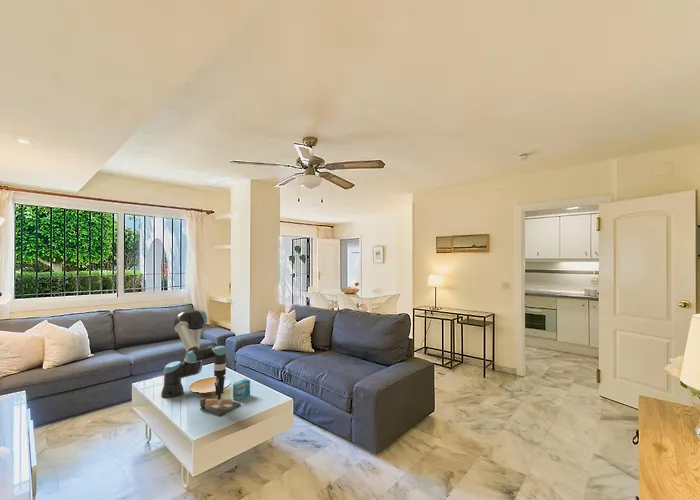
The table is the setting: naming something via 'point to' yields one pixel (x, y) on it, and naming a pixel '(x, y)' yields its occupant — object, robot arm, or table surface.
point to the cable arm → (213, 402)
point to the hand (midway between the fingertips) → (219, 403)
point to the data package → (241, 389)
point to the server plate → (220, 408)
